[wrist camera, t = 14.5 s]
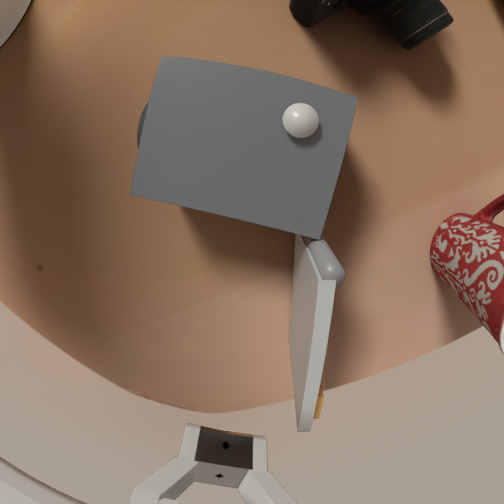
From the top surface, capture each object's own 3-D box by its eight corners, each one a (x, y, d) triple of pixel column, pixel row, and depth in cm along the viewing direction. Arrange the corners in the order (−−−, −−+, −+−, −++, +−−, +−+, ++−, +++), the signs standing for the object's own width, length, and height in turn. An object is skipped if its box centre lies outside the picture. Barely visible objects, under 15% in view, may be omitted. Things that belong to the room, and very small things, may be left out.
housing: (158, 179, 25) (112, 193, 17) (180, 80, 22) (143, 52, 14) (303, 213, 26) (321, 243, 18) (330, 113, 23) (361, 96, 15)
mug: (466, 294, 28) (535, 361, 15) (408, 277, 27) (481, 356, 14) (504, 191, 24) (593, 222, 11) (449, 158, 23) (552, 175, 10)
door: (304, 340, 29) (319, 430, 18) (288, 341, 30) (297, 431, 18) (314, 215, 25) (351, 265, 14) (296, 214, 25) (319, 264, 14)
